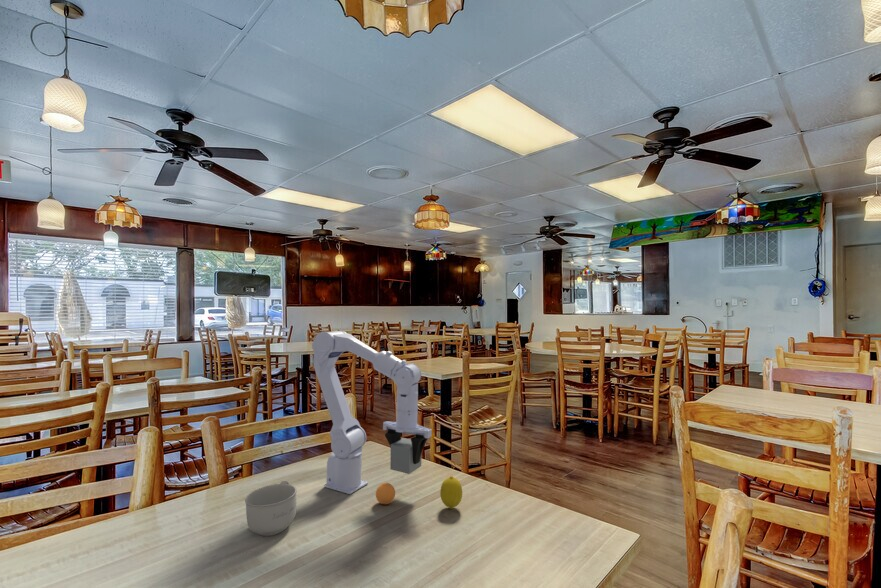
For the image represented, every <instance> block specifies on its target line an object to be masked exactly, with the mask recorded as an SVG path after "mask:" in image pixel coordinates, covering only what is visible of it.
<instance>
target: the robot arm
mask: <svg viewBox="0 0 881 588" xmlns="http://www.w3.org/2000/svg"><path fill="white" fill-rule="evenodd" d="M311 347H312V351H313V368H314V373H315V374H316V378H317V380H318V384H319V386H320V389H321V392H322V395H323V398H324V400H325V404H326V407H327V409H328V413H329V416H330V419H331V421H332V427H331V429H330V432H329V435H330V436H329V437H330V440H331V442H330V449H331V451H332V452H331V453H330V455H329V456H328V458H327V461H326V480H325V481H326V482H325V483H326V484H324V486H323V487H324V488H327V489H331V490H333V491H337V492H341V493H344V494H347V495H351V494H353V493H355V492H356V491H358V490H359V489H361V488H363V487H365V486H367V485H368V484H369V482H368V481H366V480H362V466H363V465H362V463H363V461H362V460H363V459H362V457H363V446H364V445H365V444H366V442H367V434H366V431H365V429H364V428H363V427H361V424H360V422H359V420H358V419H356V417H354V416H353V415H352V413H351V411H350V410H351V409H350V408H349V407H350V406H349V405H348V402H347V399H346V396H345V393H344V390H343V388H342V384H341V381H340V378H339V376H338V373H337V370H336V367H335V365H336V363H337V361H338V359H339V357H341V356H342V354H343V353H344V352H350V353H352V354H354V355H355V356H358V357H360V358H362V359H364V360H366V361H368V362H370V363H371V365H372V367H373V369H374V371H377V372H378V373H380V374H382V375H384V376H386V377H387V378H389V379H391V380H393V382H394V384H395V385H396V413H395V414H396V415H395V416H396V419H395V420H396V421H389V420H388V421H387V420H386V421H383V423H382V424H383V425H382V430H383V431H387V432H385V433H384V437H385V439H386V440H387V442H388V444H389V447H390V449H391V444H393V443H394V442H396V441H398V440H400V439H402V435H403V434H407V435H414V436H413V437H411V438H410V439H411V442H412V447H413V463H414V464H417V463H419V462H420V457H421V458H422V455H423V454H422V453H423V450H424V447H425V445H426V444H427V441H428V440H429V438H432V434H433V432H432V431H433V430H432V428H427V427H424V426H423V425H420V424H418V415H419V414H418V412H419V411H418V410H419V409H418V408H419V404H418V402H419V383H418V382H419V381H420V380H421V379H422V371H421V369H420V367H419V366H418V365H417V364H416V363H414V362H413V363H412V362H409V363H407V360H406V359H400V358H399V357H396V356H395V355H393V352H392V351H390V350H388V351H387V350H386V351H385V350H382V351H380V352H378V351H377V350H375V349H373V348H372V347H370V346H369V345H367V344H366V343H364V341H363V342H362V341H361V340H359V339H358V338H356V337H355V336H353V334H351V333H347V332H346V331H344V330H336V331H335V330H334V331H321V332H318V333H317V334H316V336H315V337H314V339H313V341H312V343H311Z"/></svg>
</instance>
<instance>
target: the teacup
mask: <svg viewBox="0 0 881 588" xmlns="http://www.w3.org/2000/svg"><path fill="white" fill-rule="evenodd" d="M297 492H298V491H297V487H296V486H295V485H292V484H290V483H289V481H287V480H283V481H281V482H280V483H275V484H271V485H266V486H263V487H260V488H257V489H255V490H254V491H251V492H250V493H249V494H248V495H247V496H246V497H245V499H244V500H245V514H246V523H247V526H248V528H249V529H250V531H251V532H254V534H257V535H260V536H262V537H265V536H274V535H277V534H279V533H281V532H284V530H286V529H287V528H288V526H290V525H291V524H292V523H293V521H294V519H295V518H296V515H297V514H296V513H297Z"/></svg>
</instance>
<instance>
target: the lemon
mask: <svg viewBox="0 0 881 588" xmlns="http://www.w3.org/2000/svg"><path fill="white" fill-rule="evenodd" d="M439 493H440V495H439V496H440V499H441V501H442V503H443V505H444V506H446V507H448V508H449V509H450V510H453V509H454V508H456V507H457V506H458V505H459V504H460V503H461V501H462V498H463V487H462V483H461V482H460V480H459V479H457V477H455V476H453V475H450V476H449V477H447V478H445V479H444V480H443V481H442V483H441V485H440V491H439Z"/></svg>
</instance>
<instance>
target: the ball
mask: <svg viewBox="0 0 881 588" xmlns="http://www.w3.org/2000/svg"><path fill="white" fill-rule="evenodd" d="M395 497H396V489H395V487H394V486H393V484H391V483H390V482H383V483H381V484H379V485H378V487H377V488H376V490H375V498H376V500H377V502H378V503H380V504H381V505H389V504H390V503H392V502H393V501H394V499H395Z"/></svg>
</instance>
